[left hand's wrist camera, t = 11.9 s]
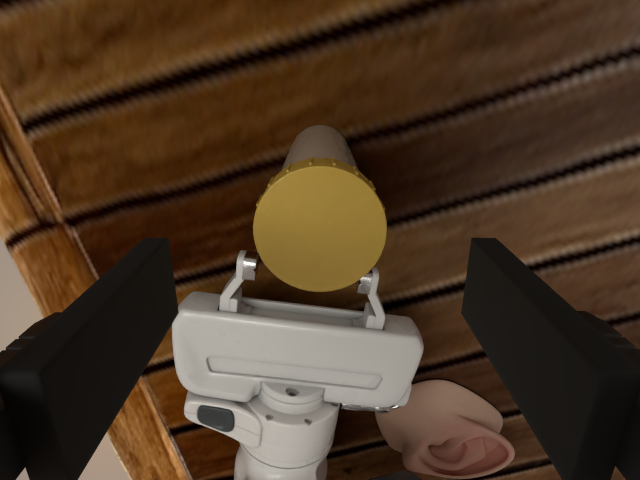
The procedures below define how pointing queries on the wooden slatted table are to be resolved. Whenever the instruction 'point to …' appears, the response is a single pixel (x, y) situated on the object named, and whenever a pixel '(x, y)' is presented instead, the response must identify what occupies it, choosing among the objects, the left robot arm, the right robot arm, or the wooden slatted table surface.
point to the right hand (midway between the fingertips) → (309, 261)
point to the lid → (320, 225)
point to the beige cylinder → (320, 146)
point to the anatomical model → (447, 432)
